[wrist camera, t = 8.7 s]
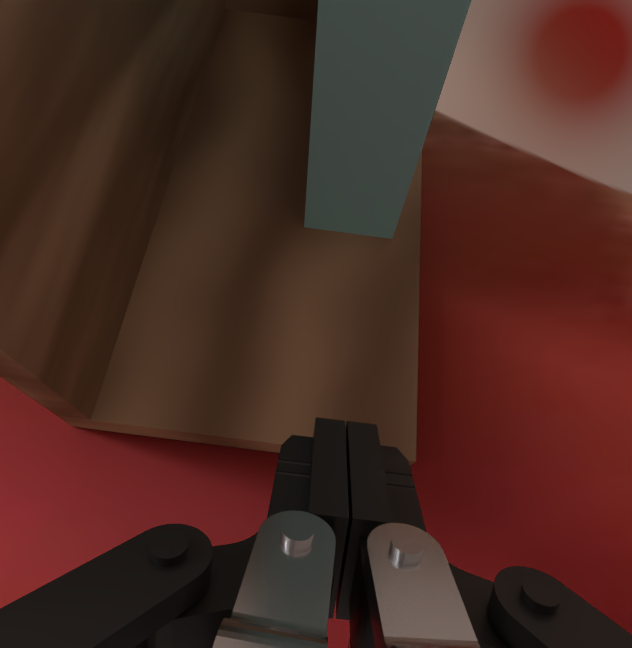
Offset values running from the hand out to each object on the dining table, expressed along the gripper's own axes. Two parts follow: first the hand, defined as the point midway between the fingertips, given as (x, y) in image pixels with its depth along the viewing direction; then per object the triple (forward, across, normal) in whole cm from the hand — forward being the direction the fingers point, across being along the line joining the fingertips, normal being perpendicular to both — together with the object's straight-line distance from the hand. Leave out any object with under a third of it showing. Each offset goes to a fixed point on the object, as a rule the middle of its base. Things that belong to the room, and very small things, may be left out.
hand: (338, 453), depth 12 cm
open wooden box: (+15, +3, -5) cm, 16 cm away
